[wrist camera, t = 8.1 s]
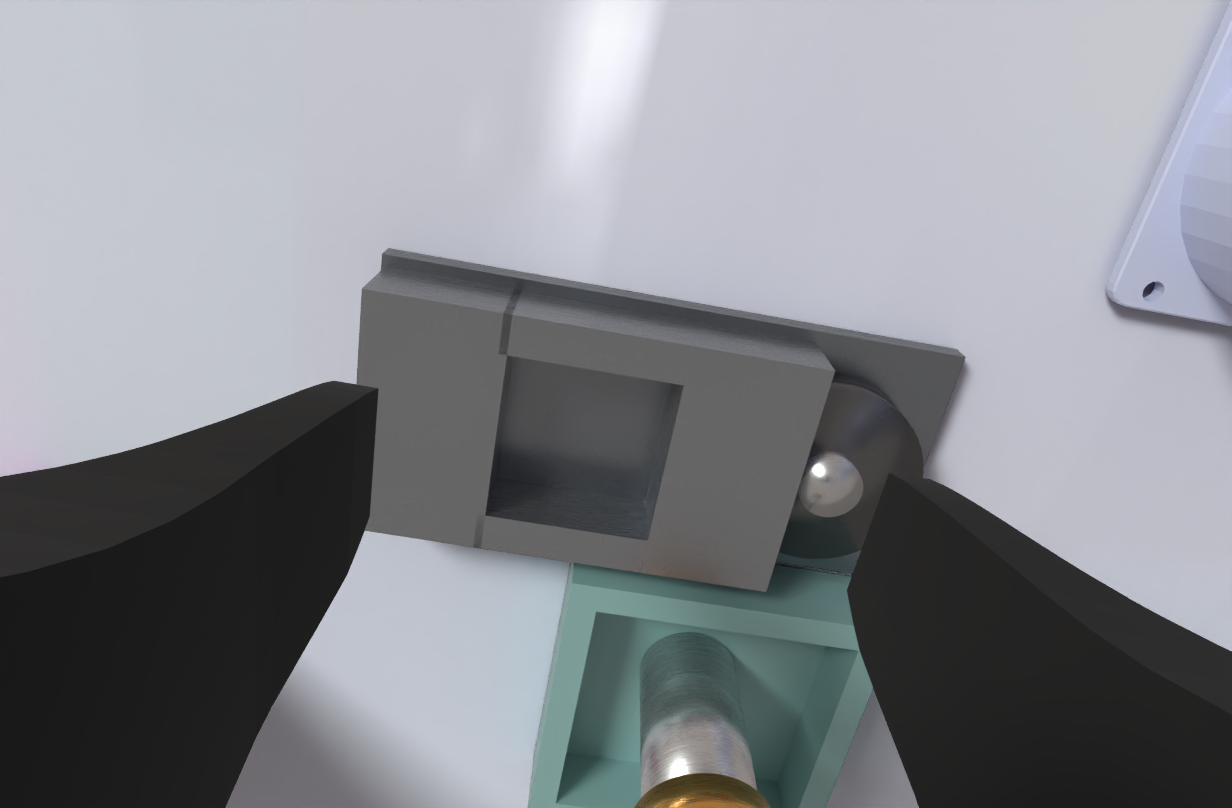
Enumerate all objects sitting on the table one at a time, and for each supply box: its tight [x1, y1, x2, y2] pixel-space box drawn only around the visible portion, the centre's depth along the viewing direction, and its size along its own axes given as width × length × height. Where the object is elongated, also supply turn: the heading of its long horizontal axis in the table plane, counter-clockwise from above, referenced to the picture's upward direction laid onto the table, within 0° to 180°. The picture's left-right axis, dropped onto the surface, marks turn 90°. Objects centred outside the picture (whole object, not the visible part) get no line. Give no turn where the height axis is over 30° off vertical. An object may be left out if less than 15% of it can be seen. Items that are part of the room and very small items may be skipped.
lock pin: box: [634, 632, 771, 808], centre depth 22 cm, size 4×4×7 cm
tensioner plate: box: [357, 248, 965, 592], centre depth 21 cm, size 15×7×3 cm, turn 80°
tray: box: [528, 562, 873, 808], centre depth 25 cm, size 9×9×2 cm
